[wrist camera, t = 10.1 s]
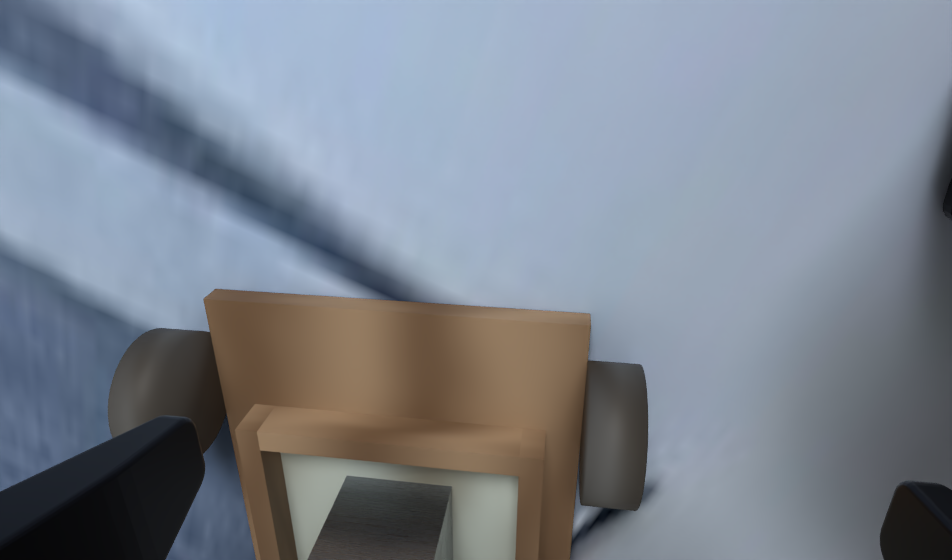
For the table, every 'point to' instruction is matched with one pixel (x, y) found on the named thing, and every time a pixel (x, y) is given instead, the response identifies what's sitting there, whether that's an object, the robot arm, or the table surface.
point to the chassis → (400, 412)
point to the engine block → (387, 522)
